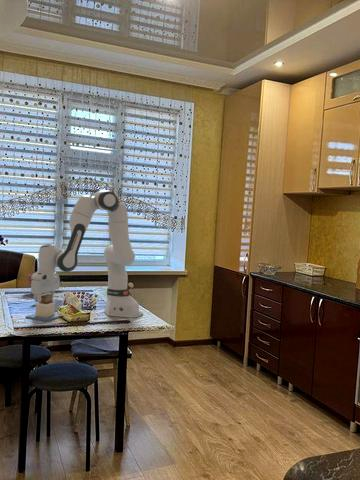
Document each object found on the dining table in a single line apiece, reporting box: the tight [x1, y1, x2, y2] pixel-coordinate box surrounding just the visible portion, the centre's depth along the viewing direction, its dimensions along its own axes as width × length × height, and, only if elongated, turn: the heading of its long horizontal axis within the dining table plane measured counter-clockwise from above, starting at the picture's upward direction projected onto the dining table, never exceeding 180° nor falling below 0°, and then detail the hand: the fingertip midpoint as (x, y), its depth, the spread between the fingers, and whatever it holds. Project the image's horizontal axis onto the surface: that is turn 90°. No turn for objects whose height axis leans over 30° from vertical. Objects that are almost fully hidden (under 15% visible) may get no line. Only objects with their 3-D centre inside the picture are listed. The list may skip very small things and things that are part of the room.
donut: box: [33, 291, 51, 303], centre depth 269 cm, size 10×4×10 cm, turn 128°
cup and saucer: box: [25, 301, 61, 323], centre depth 239 cm, size 14×14×8 cm
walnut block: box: [39, 294, 54, 304], centre depth 239 cm, size 5×5×5 cm
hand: (45, 299), depth 239 cm, fingers open, 8 cm apart
